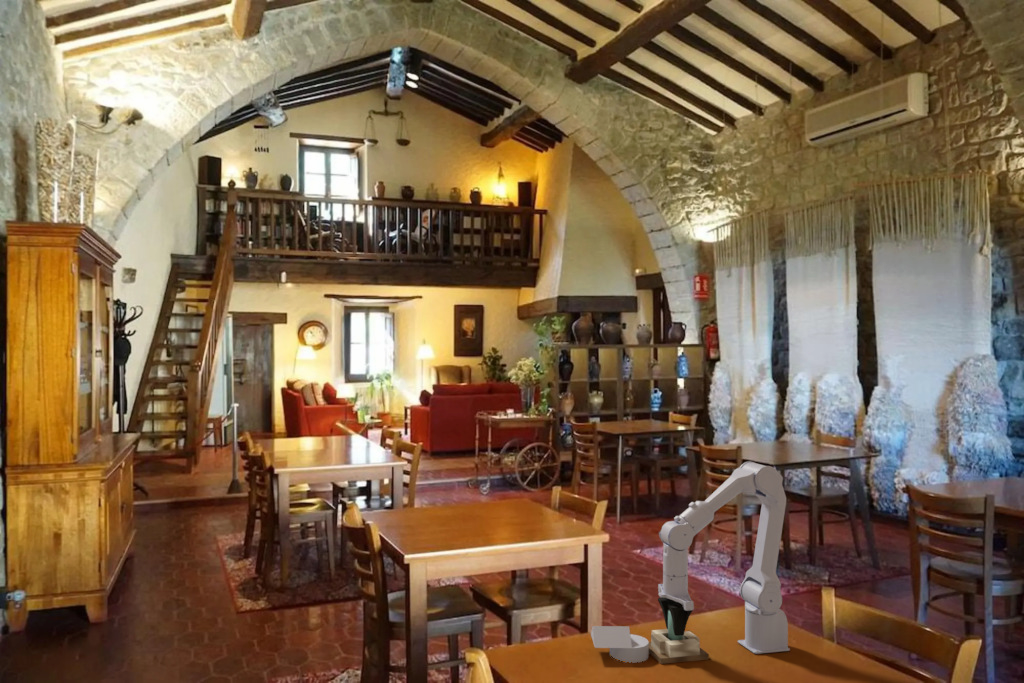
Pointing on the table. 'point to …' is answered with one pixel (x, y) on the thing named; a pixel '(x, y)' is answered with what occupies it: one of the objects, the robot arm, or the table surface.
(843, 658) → the table surface
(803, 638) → the table surface
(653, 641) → the socket board
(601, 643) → the wedge on round base
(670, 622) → the peg
